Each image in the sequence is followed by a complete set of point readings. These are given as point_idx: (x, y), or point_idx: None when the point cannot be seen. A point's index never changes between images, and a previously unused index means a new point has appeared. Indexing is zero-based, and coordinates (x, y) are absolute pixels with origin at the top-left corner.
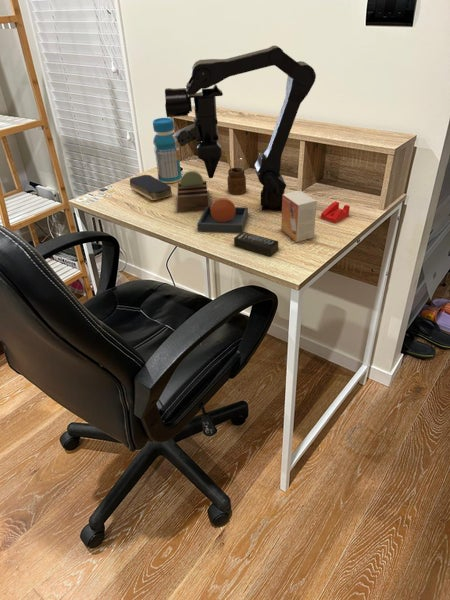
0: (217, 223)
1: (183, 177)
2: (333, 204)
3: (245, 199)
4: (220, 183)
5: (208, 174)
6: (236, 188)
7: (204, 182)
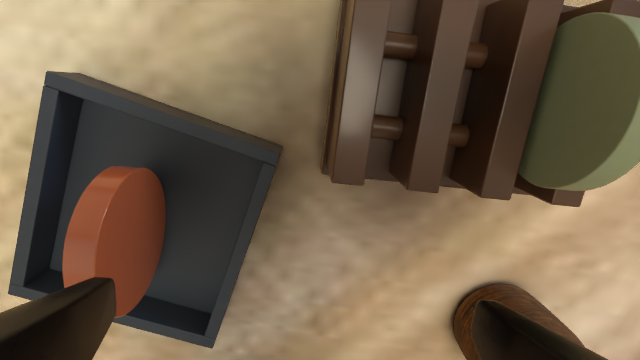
0: (38, 182)
1: (619, 36)
2: None
3: (388, 337)
4: (623, 262)
5: (43, 303)
6: (466, 333)
7: (553, 192)
